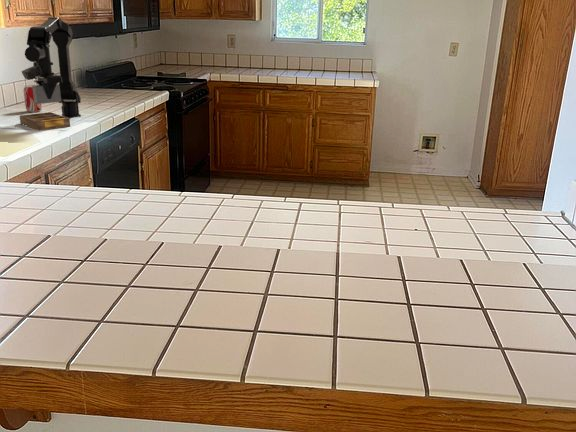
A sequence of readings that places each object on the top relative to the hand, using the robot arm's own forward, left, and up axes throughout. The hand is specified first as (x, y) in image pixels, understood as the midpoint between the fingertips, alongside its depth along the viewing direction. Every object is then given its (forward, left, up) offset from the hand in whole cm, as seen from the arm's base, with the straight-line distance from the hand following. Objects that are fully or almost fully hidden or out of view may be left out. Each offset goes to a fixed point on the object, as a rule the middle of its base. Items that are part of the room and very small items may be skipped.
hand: (47, 98), depth 233 cm
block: (0, 0, -2) cm, 2 cm away
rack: (0, -6, -12) cm, 13 cm away
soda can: (-10, -41, -12) cm, 44 cm away
